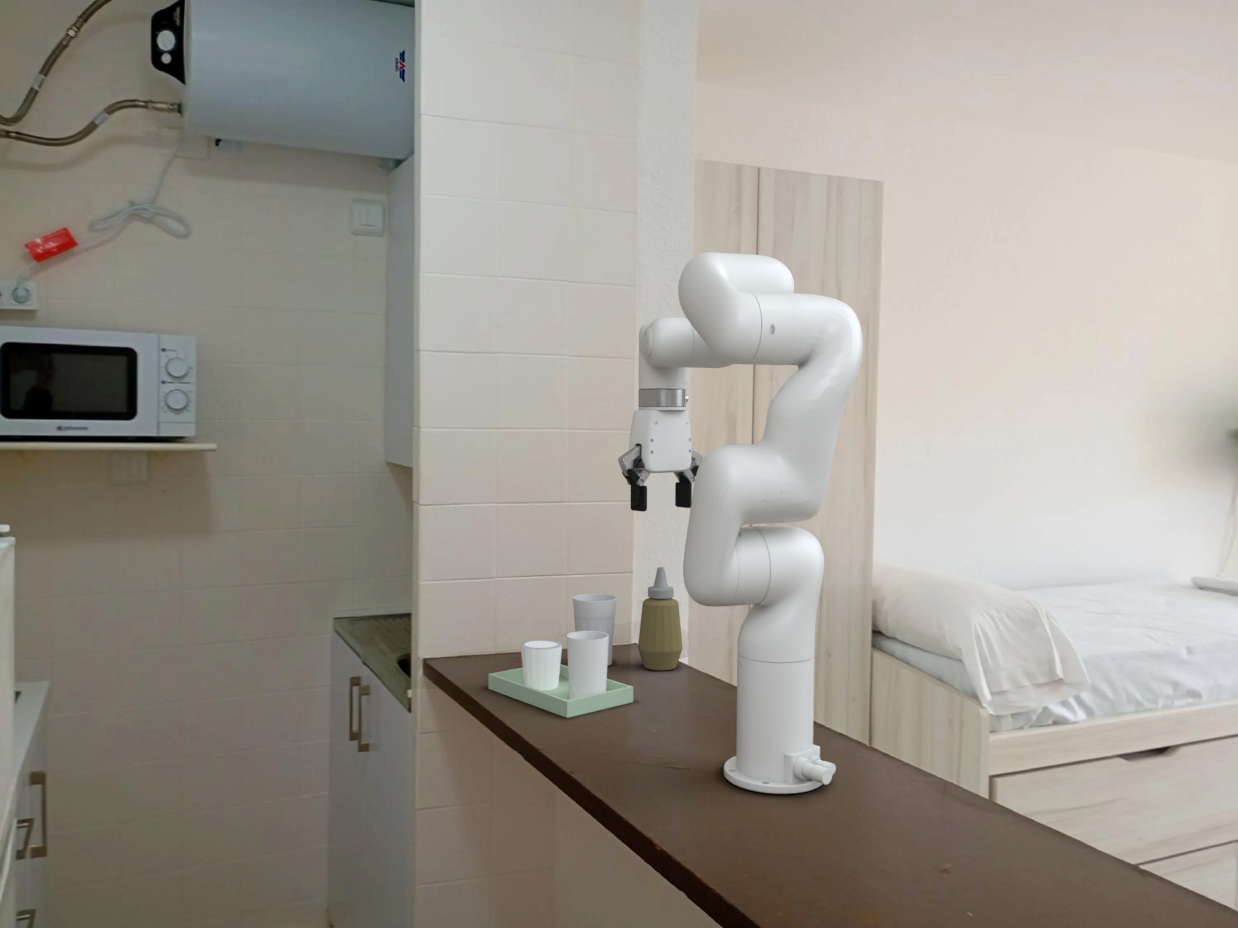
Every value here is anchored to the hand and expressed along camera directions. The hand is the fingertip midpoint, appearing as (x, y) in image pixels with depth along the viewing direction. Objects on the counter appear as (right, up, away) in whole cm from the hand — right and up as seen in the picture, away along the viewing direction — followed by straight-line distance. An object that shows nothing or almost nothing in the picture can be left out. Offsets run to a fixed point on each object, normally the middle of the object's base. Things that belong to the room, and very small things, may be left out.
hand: (661, 508), depth 164 cm
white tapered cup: (-20, -30, +6) cm, 36 cm away
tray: (-16, -30, +2) cm, 34 cm away
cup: (-11, -29, +24) cm, 39 cm away
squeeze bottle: (+1, -30, +21) cm, 36 cm away
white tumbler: (-12, -30, -1) cm, 32 cm away
